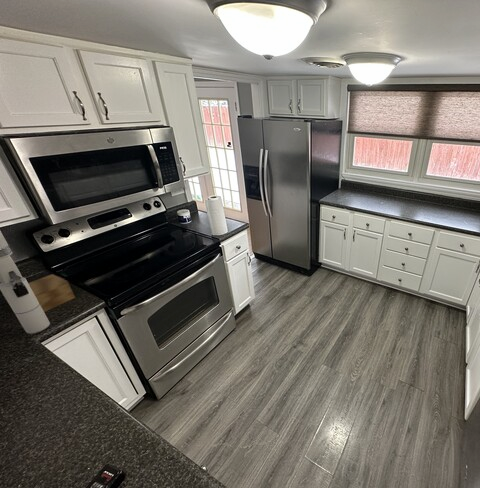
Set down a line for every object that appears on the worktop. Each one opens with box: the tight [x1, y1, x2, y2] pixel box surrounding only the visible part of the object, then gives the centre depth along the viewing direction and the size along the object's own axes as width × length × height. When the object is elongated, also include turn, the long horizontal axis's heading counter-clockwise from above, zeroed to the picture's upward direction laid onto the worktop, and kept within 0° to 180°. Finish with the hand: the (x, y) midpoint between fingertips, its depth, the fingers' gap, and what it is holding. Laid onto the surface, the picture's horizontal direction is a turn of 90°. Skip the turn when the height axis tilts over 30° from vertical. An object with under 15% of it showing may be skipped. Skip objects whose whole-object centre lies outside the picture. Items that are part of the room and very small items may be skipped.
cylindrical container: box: [0, 276, 51, 334], centre depth 106 cm, size 7×7×25 cm
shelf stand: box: [28, 273, 76, 313], centre depth 127 cm, size 14×14×10 cm
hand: (18, 292), depth 103 cm, fingers closed on cylindrical container, 7 cm apart
